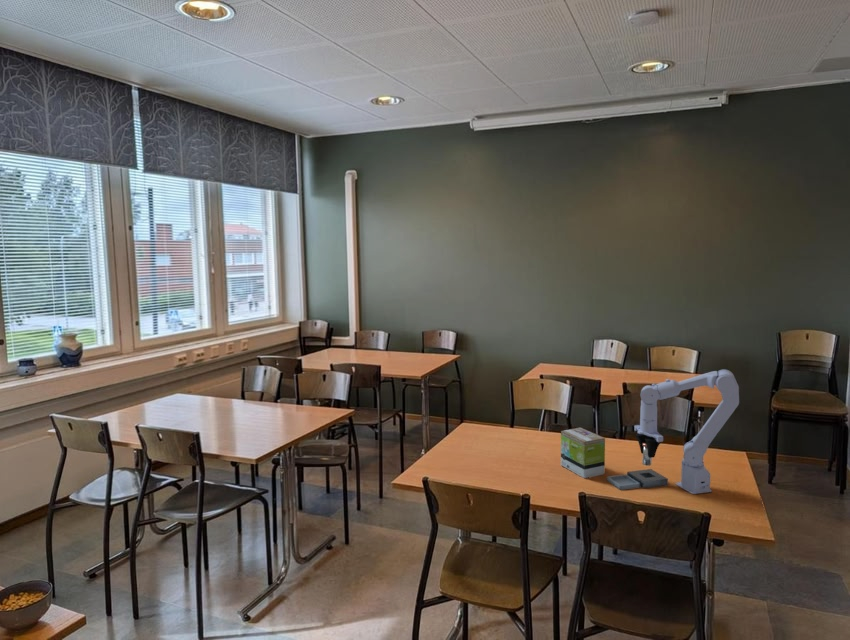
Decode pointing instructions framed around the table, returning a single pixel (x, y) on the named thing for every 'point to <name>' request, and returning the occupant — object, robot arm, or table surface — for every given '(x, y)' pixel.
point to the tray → (623, 482)
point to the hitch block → (648, 478)
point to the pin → (646, 455)
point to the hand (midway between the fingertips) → (647, 455)
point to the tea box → (583, 452)
